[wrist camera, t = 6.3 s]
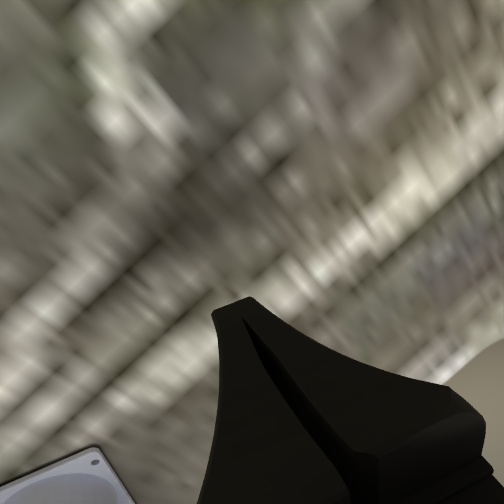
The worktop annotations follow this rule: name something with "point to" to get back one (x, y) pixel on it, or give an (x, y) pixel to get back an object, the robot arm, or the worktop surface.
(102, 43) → the worktop surface
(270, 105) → the worktop surface
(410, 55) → the worktop surface
